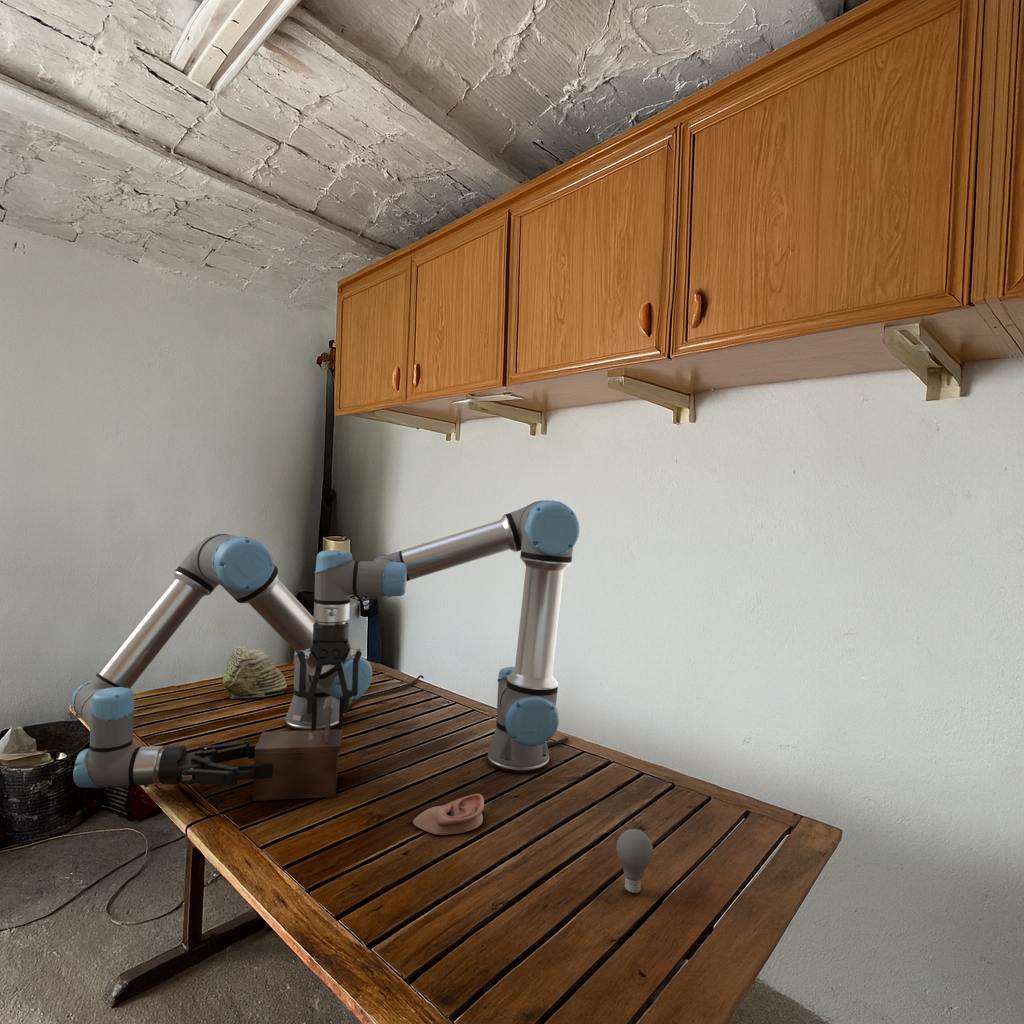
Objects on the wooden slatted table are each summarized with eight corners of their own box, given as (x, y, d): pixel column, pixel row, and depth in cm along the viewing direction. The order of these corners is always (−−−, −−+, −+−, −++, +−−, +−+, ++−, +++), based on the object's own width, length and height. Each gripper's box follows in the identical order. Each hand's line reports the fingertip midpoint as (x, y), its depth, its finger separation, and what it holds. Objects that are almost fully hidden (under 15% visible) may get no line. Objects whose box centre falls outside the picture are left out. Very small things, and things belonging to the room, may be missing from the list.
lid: (342, 734, 144) (343, 694, 143) (339, 751, 134) (341, 708, 134) (262, 737, 140) (264, 696, 140) (254, 755, 130) (255, 710, 130)
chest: (337, 776, 144) (339, 735, 143) (335, 796, 134) (336, 752, 134) (260, 780, 140) (262, 737, 140) (252, 801, 131) (254, 755, 130)
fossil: (218, 695, 195) (220, 647, 195) (278, 685, 208) (279, 640, 207) (228, 703, 189) (230, 653, 188) (289, 692, 201) (290, 645, 201)
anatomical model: (407, 809, 121) (427, 784, 133) (406, 830, 121) (426, 802, 133) (474, 819, 119) (489, 792, 130) (473, 840, 119) (488, 811, 130)
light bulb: (610, 879, 108) (613, 822, 108) (644, 879, 109) (647, 822, 109) (619, 902, 102) (622, 840, 102) (655, 901, 103) (658, 840, 103)
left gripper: (178, 761, 142) (283, 756, 147) (142, 809, 120) (266, 802, 125) (179, 727, 142) (284, 724, 147) (144, 770, 120) (268, 764, 125)
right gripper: (285, 625, 132) (281, 736, 133) (373, 625, 136) (369, 732, 136) (290, 618, 139) (286, 723, 140) (373, 618, 143) (369, 720, 144)
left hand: (276, 760), depth 136 cm, fingers closed on chest, 10 cm apart
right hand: (327, 727), depth 138 cm, fingers open, 5 cm apart
